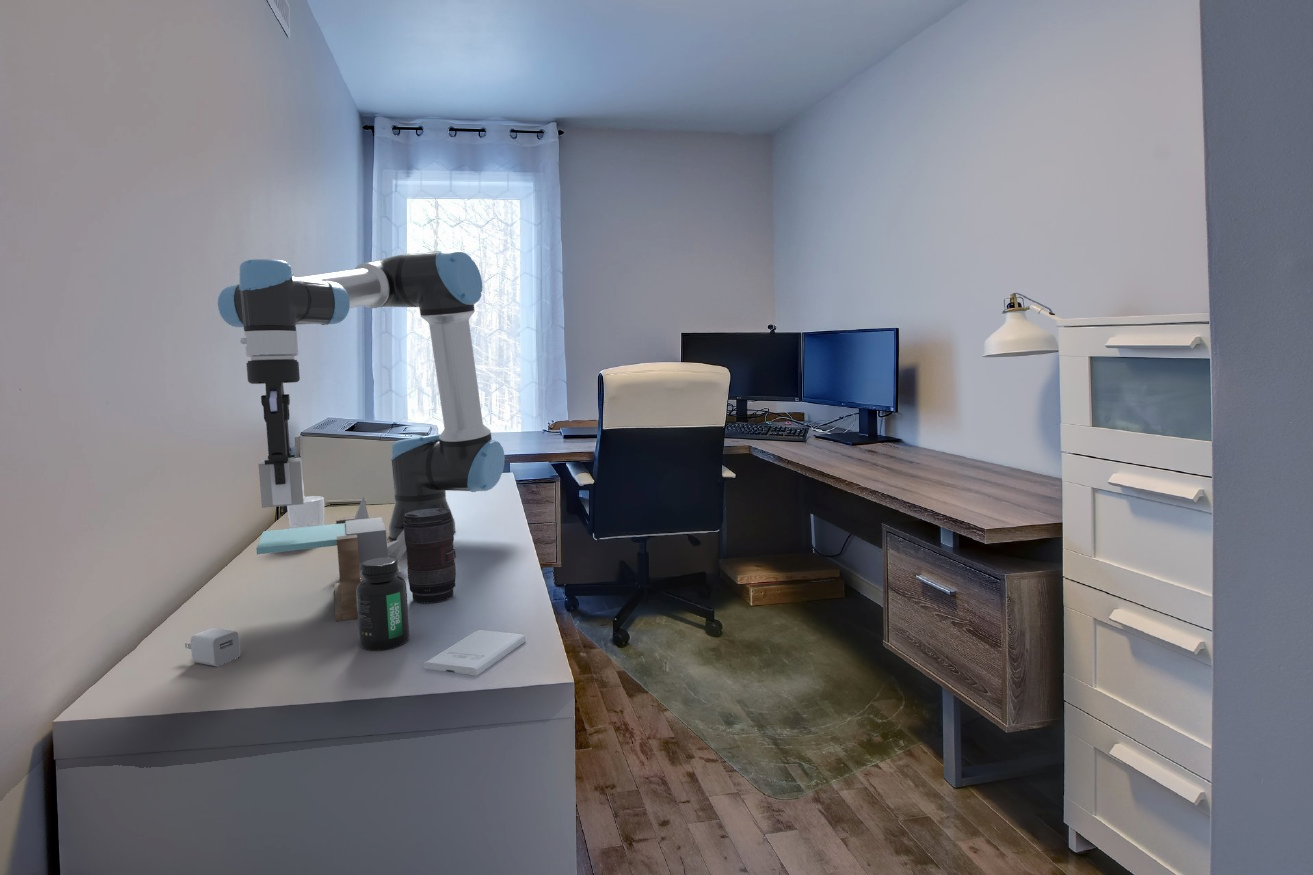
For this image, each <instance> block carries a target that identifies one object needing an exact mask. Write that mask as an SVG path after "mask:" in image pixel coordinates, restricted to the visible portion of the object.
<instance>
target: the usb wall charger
mask: <svg viewBox="0 0 1313 875" xmlns="http://www.w3.org/2000/svg"><path fill="white" fill-rule="evenodd" d="M239 634H240V633H239V632H238V631H237V630H231V629H224V628H218V627H211V628H209V629H205V630H203V631H201V632H200V631H199V632H198V633H195V634H193V635H192V636H191V638H190V643H189V642H188V643H187V642H186V643H184V647H185V649H189V650H191V658H192V662H193V663H195V664H202V665H207V666H212V667H217V668H218V667H220V665H221V666H222V665H225V664H227V663H226V662H228V661H230V660H233V659H235V658H237V659H239V658H240V656H241V644H240V635H239ZM238 657H239V658H238ZM235 660H236V659H235ZM233 661H234V660H233ZM230 662H231V661H230ZM224 663H225V664H224ZM228 663H229V662H228Z"/></svg>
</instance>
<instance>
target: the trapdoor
mask: <svg viewBox="0 0 1313 875" xmlns="http://www.w3.org/2000/svg"><path fill="white" fill-rule="evenodd" d="M383 520H384V519H383V518H382V516H379V517H372V518H370V517H369V519H359V520H349V521H345V522H346V523H340V524H336V523H333V524H332V523H331V524H324V525H321V526H311V527H301V528H291V529H290V528H285V529H284V528H283V529H274V530H264V531H262V533H261V536H260V538H259V541H258V544H257V545H256V548H255V549H256V555H265V554H273V553H275V554H276V553H283V552H291V551H299V550H300V551H301V550H308V549H317V548H318V549H319V548H327V547H337V537H338V536H347V535H357V540H358V554H359V563H363V562H365V561H367V560H371V559H376V558H388V553H387V541H388V539H387V529H386V527H385V526H386V525H385V523H384V521H383Z"/></svg>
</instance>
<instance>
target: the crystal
mask: <svg viewBox="0 0 1313 875" xmlns="http://www.w3.org/2000/svg"><path fill="white" fill-rule="evenodd" d="M369 518H370V517H369V513H368V508H367V504H366V500H365V497H364V496H363V497H362V498H361V501H360V503H359V506H358V509H357V511H356V514H355V516H354V520H359V519H369ZM406 552H407V549H406V545H405V537H404V530H403V531H402V532H401V534H400V535H399V536H398V538H397V539H395V540H393V541H390V539H387V553H388V558H395V559H396V560H397V564H399V562H400V561H401V559H402V557H403V556H404V554H405V553H406ZM359 568H360V578H364V577H362V563H359ZM400 569H401V568H400V566H399V565H398V571H399V570H400ZM400 571H401V570H400Z"/></svg>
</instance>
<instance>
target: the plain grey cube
mask: <svg viewBox="0 0 1313 875" xmlns="http://www.w3.org/2000/svg"><path fill="white" fill-rule="evenodd" d="M302 458H303V457H302V456H301V457H293V458H288V462H287V463H289V471H290V484H291V497H292V504H283V505H273V500H272V488H271V475H270V465H265V461H264V460H265V459H260V461H259V463H258V464H257V465H258V474H259V487H260V500H261V509H263V508H264V509H266V508H275V507H287V506H289V505H300V504H304V499H305V497H306V496H305V486H304V485H305V484H304V474H303V473H304V471H303V459H302Z"/></svg>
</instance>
